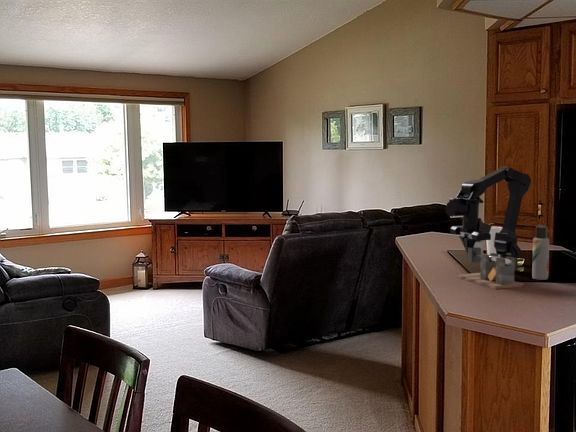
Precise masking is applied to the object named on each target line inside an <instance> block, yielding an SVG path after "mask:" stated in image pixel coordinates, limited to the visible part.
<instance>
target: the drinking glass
mask: <svg viewBox="0 0 576 432" xmlns="http://www.w3.org/2000/svg"><path fill="white" fill-rule="evenodd" d="M491 226H492V227H491V230H490V234H491V240H485V243H486V254H488V255H490V253H496V249H495V247H494V242H493V241H494V239H495V234H496V232H498V233H499V232H500V231H501V230H502V228H503V226H494V225H491ZM496 254H497V253H496ZM499 257H500V255H499Z"/></svg>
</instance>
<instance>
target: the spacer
mask: <svg viewBox="0 0 576 432" xmlns="http://www.w3.org/2000/svg"><path fill="white" fill-rule="evenodd" d="M488 278H489V280H490V281H491V282H492V281H494V279H495V278H496V267H493V269H492V270H491V272H490V273H489V275H488Z"/></svg>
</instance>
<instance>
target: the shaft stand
mask: <svg viewBox="0 0 576 432" xmlns="http://www.w3.org/2000/svg"><path fill="white" fill-rule="evenodd" d="M490 255H493V256H497V257H499V254H496V253H490ZM506 259H509V260H511V261H512V263H511V265H506V264H505V259H504V258H500V257H499V258H496V262H494V261H490V260H489V255H487V253H484V254H481V262H480V269H479V270H480V272H473V273H472V272H471V273H464V274H463V273H462V274H457V277H456V278H457V279H458V278H459V279H461V280H465V281H467V282H471V283H474V284H478V285H480V286H483V287H484V286H485V287H487V288H491V289H494V290H499V289H510V288H521V287H524V283H523V282H519V281H516V280H515V272H514V269H515V258H513V257H506ZM493 267H496V278H495V279H494V281H492V282H491V281H490V280H489V278H488V275H489V273H490V272H491V270H492V269H493Z"/></svg>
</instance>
